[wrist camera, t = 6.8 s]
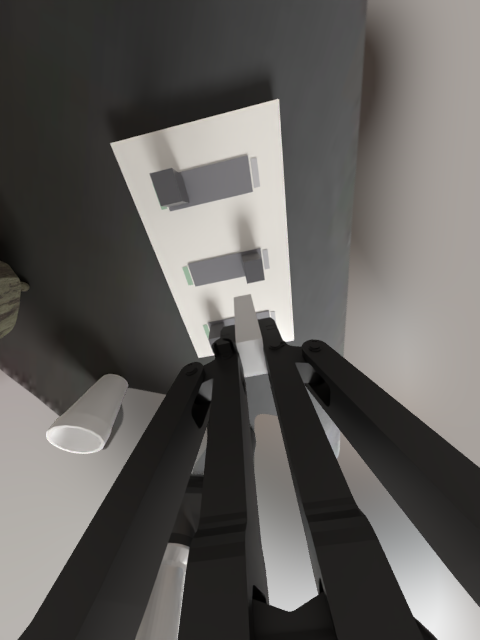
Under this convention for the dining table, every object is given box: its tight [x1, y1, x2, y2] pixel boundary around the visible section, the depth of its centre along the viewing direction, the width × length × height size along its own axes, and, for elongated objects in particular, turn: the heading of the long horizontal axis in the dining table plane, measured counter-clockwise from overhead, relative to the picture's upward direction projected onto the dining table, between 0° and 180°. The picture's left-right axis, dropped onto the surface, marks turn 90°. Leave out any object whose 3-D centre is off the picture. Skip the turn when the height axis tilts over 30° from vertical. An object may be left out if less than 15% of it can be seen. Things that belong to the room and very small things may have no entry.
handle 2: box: [208, 323, 225, 353], centre depth 33 cm, size 3×2×4 cm
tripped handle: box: [241, 252, 265, 284], centre depth 27 cm, size 3×2×4 cm
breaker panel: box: [110, 99, 294, 358], centre depth 31 cm, size 34×20×3 cm, turn 11°
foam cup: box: [46, 374, 128, 454], centre depth 39 cm, size 10×9×13 cm
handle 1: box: [149, 168, 190, 207], centre depth 22 cm, size 3×2×4 cm
